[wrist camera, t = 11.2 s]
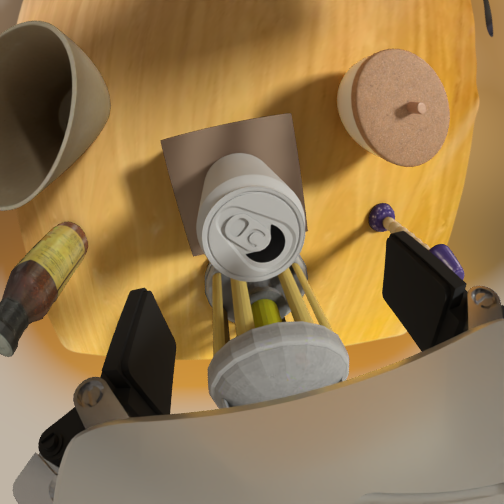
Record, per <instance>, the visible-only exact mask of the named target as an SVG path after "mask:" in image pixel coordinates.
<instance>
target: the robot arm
mask: <svg viewBox="0 0 504 504" xmlns="http://www.w3.org/2000/svg"><path fill="white" fill-rule="evenodd" d="M465 287H466V283H465V282H464V281H463V280H462V279H461V278H460V277H459V276H458V275H456V274H455V273H454V272H453V271H452V270H451V269H450V268H449V267H448V266H446V265H445V264H444V263H443V262H442V261H441V260H439V259H438V258H437V257H436V256H435V255H434V254H432V253H431V252H430V251H429V250H428V249H426V248H425V247H424V246H423V245H421V244H420V243H419V242H418V241H417V240H415V239H414V238H413V237H412V236H410V235H409V234H408V233H406V232H405V231H399V232H395V233H391V234H390V236H389V238H387V241H386V256H385V269H384V280H383V290H382V294H383V298H384V300H385V301H386V303H387V304H388V305H389V307H390V308H391V309H392V311H393V312H394V313H395V315H396V316H397V317H398V319H399V320H400V322H401V323H402V324H403V326H404V327H405V328H406V330H407V331H408V333H409V334H410V335H411V337H412V338H413V340H414V341H415V342H416V344H417V345H418V347H419V348H420V350H421V351H422V352H420V353H418V354H416V355H414V356H411V357H409V358H406V359H404V360H402V361H399V362H396V363H394V364H391V365H389V366H386V367H383V368H381V369H378V370H375V371H372V372H369V373H367V374H364V375H361V376H358V377H355V378H352V379H349V380H345V381H342V382H339V383H336V384H332V385H329V386H325V387H322V388H318V389H315V390H311V391H307V392H303V393H299V394H295V395H291V396H287V397H282V398H278V399H273V400H268V401H263V402H258V403H253V404H247V405H242V406H236V407H229V408H222V409H215V410H207V411H199V412H190V413H181V414H170V407H171V396H172V384H173V374H174V363H175V355H176V342H175V339H174V337H173V335H172V333H171V331H170V329H169V327H168V325H167V323H166V321H165V319H164V317H163V315H162V313H161V311H160V309H159V307H158V305H157V302H156V300H155V298H154V296H153V294H152V292H151V291H147V290H146V289H145V288H141V289H136V290H132V291H130V293H129V295H128V298H127V301H126V303H125V306H124V308H123V311H122V313H121V316H120V319H119V321H118V324H117V327H116V330H115V333H114V335H113V338H112V341H111V344H110V347H109V350H108V353H107V356H106V359H105V362H104V365H103V368H102V374H101V377H92V378H88V379H87V380H84V381H83V382H82V383H81V384H80V385H79V386H78V387H77V389H76V390H75V393H74V398H73V401H74V405H75V407H74V408H73V409H72V410H71V411H69V412H68V413H67V414H66V415H64V416H63V417H62V418H61V419H59V420H58V421H57V422H56V423H54V424H53V425H52V426H50V427H49V428H48V429H46V430H45V431H44V432H43V433H42V435H41V437H40V440H39V451H40V453H39V455H38V454H37V453H35V454H34V455H33V456H32V458H31V459H30V461H29V462H28V463H27V465H26V466H25V468H24V469H23V470H22V472H21V473H20V475H19V476H18V478H17V479H16V480H15V482H14V485H13V494H14V497H15V499H16V501H17V502H18V504H504V306H503V305H501V302H500V298H499V296H498V295H497V293H496V292H494V291H493V290H492V289H490V288H488V287H485V286H474V287H472V288H470V290H469V291H468V292H467V291H466V290H465Z"/></svg>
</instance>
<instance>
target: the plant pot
mask: <svg viewBox="0 0 504 504" xmlns="http://www.w3.org/2000/svg"><path fill="white" fill-rule="evenodd" d="M109 114H110V96H109V92H108V89H107V86H106V84H105V82H104V80H103V78H102V76H101V74H100V72H99V71H98V69H97V68H96V66H95V65H94V64H93V62H92V61H91V60H90V59H89V57H88V56H87V55H86V54H85V53H84V52H83V51H82V50H81V49H80V48H79V47H78V46H77V45H76V44H75V43H74V42H73V41H72V40H71V39H70V38H68V37H67V36H66V35H65V34H64V33H62V32H61V31H60V30H59V29H57V28H56V27H55V26H53V25H51V24H49V23H47V22H43V21H28V22H24V23H20V24H17V25H15V26H13V27H11V28H9V29H7V30H6V31H4V32H3V33H2V34H0V210H2V211H3V210H12V209H16V208H18V207H21V206H23V205H24V204H26V203H28V202H29V201H30V200H32V199H33V198H34V197H35V196H36V195H38V194H39V193H40V192H41V191H42V190H43V189H45V188H46V187H47V186H48V185H49V184H50V183H52V182H53V181H54V180H55V179H56V178H58V177H59V176H60V175H61V174H62V173H63V172H64V171H65V170H67V169H68V168H69V167H70V166H71V165H72V164H73V163H74V162H75V161H76V160H77V159H78V158H79V157H80V156H81V155H82V154H83V153H84V152H85V151H86V150H87V149H88V147H89V146H90V145H91V144H92V143H93V141H94V140H95V139H96V138H97V136H98V135H99V134H100V132H101V131H102V129H103V127H104V126H105V124H106V122H107V120H108V117H109ZM67 124H68V125H67Z"/></svg>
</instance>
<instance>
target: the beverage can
mask: <svg viewBox="0 0 504 504" xmlns="http://www.w3.org/2000/svg"><path fill="white" fill-rule="evenodd" d="M196 230H197V238H198V242H199V244H200V247H201V249H202V251H203V252H204V254H205V255H206V257H207V258H208V260H209V261H210V263H211V264H212V265H213V266H214V267H215V268H216V269H217V270H218V271H219V272H221V273H222V274H224V275H225V276H227V277H229V278H232V279H235V280H239V281H244V282H257V281H263V280H267V279H270V278H272V277H275V276H277V275H279V274H280V273H282V272H283V271H285V270H286V269H287V268H289V267H290V266H291V265H292V264H293V262H294V261H295V260H296V259H297V257H298V255H299V254H300V252H301V250H302V247H303V244H304V239H305V215H304V210H303V207H302V205H301V202H300V200H299V199H298V197H297V196H296V194H295V193H294V192H293V191H292V190H291V189H290V188H289V187H288V186H287V185H286V184H285V183H284V182H283V181H282V180H281V179H280V178H279V177H278V176H277V175H276V174H275V173H274V172H273V171H272V170H271V169H270V168H269V167H268V166H267V165H266V164H265V163H264V162H263V161H262V160H260V159H259V158H257V157H255V156H253V155H250V154H245V153H235V154H230V155H227V156H224V157H222V158H221V159H219V160H218V161H216V162H215V163H214V164H213V165H212V166H211V168H210V169H209V171H208V172H207V175H206V177H205V181H204V186H203V191H202V196H201V201H200V206H199V211H198V217H197V224H196Z"/></svg>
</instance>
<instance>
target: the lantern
mask: <svg viewBox="0 0 504 504" xmlns="http://www.w3.org/2000/svg"><path fill="white" fill-rule="evenodd" d="M304 293H305V294H306V296H307V298H308V301H309V303H310V305H311V307H312V309H313V311H314V313H315V316H316V318H317V320H318V322H319V324H320V325H317V324H314V323H313V320H312V318H311V316H310V314H309V311H308V309H307V307H306V305H305V302H304V300H303V298H302V297H303V295H304ZM205 294H206V296H207V299H208V301H209V304H210V305H211V307H212V308H213V359H212V361H211V363H210V365H209V367H208V388H209V394H210V396H211V397H212V399H213V400H214V402H215V403H216V405H217V406H218V408H220V409H222V408H229V407H236V406H242V405H247V404H253V403H258V402H263V401H268V400H273V399H278V398H282V397H287V396H291V395H295V394H299V393H303V392H307V391H311V390H315V389H318V388H322V387H325V386H329V385H332V384H336V383H339V382H342V381H345V380H346V378H347V376H348V374H349V356H348V353H347V351H346V349H345V347H344V345H343V343H342V341H341V340H340V338H339V336H338V335H337V334H336V333H334V332H333V330H332V328H331V326H330V324H329V322H328V320H327V318H326V316H325V314H324V312H323V310H322V308H321V306H320V304H319V303H318V301H317V299H316V297H315V295H314V293H313V291H312V289H311V287H310V285H309V283H308V275H307V269H306V265H305V263H304V261H303V260H302V258H301V256H300V254H299V255H298V257H297V259H296V260H295V261H294V262H293V264H292V265H291V266H290V267H289V268H287V269H286V270H285V271H283V272H282V273H280V274H279V275H277V276H275V277H272V278H270V279H267V280H263V281H257V282H244V281H239V280H235V279H232V278H229V277H227V276H225V275H224V274H222V273H221V272H219V271H218V270H217V269H216V268H215V267H214V266H213V265H212V264H211V263H210V262H209V264H208V267H207V270H206V272H205ZM289 312H291V313H292V316H293V318H294V321H295V322H286V320H285V317H284V316H286V315H287V314H288V313H289ZM228 320H229V321H231V322H234V323H235V326H236V335H237V337H235V338H233V339H231V340H230V338H229V326H228Z"/></svg>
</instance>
